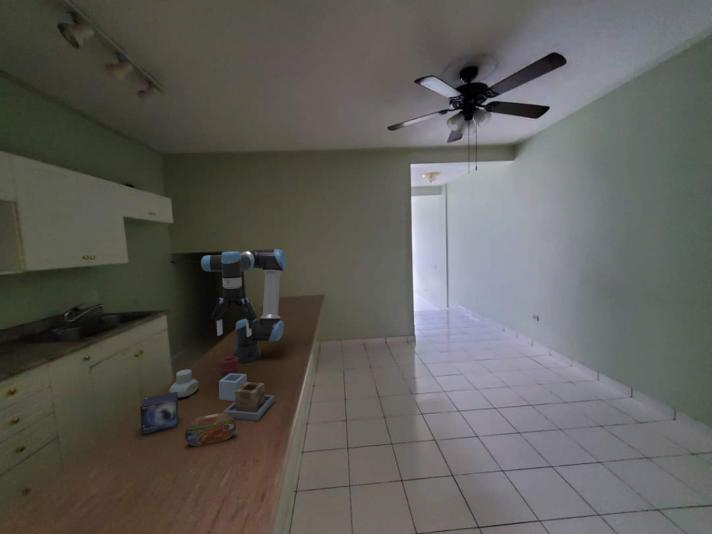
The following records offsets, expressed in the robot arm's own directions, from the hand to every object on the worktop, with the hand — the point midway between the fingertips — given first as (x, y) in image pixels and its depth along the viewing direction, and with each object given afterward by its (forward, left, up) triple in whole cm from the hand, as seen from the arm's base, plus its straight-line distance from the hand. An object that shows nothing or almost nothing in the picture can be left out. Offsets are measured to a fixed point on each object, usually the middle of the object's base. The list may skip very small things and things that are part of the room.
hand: (234, 335), depth 123 cm
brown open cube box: (+11, +13, -25) cm, 30 cm away
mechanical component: (-8, -9, -26) cm, 29 cm away
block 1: (+2, 0, -26) cm, 26 cm away
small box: (+27, -13, -26) cm, 39 cm away
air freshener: (+5, -22, -26) cm, 34 cm away
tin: (+31, +10, -26) cm, 41 cm away
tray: (+12, +13, -26) cm, 31 cm away
